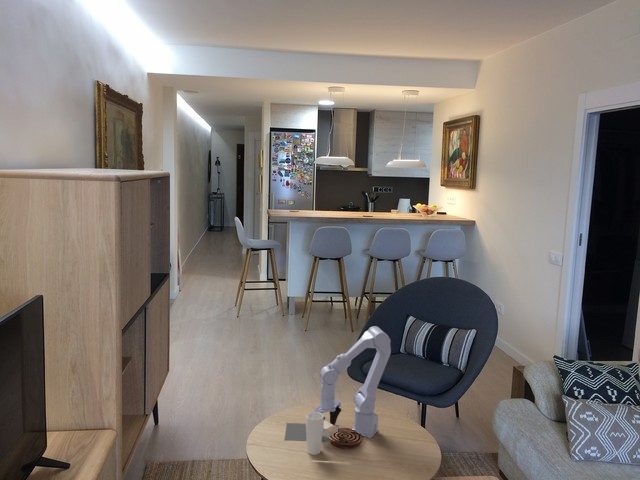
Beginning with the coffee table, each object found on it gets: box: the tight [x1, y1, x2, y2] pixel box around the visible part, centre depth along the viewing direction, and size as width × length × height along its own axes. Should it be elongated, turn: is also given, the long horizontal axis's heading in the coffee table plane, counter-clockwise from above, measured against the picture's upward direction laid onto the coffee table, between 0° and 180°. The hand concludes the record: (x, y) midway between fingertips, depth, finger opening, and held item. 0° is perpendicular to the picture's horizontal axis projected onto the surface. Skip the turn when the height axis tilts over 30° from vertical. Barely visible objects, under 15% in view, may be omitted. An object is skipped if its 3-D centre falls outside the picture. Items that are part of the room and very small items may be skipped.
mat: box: [284, 422, 340, 443], centre depth 218 cm, size 22×14×1 cm, turn 90°
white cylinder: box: [305, 411, 325, 456], centre depth 203 cm, size 7×7×15 cm
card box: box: [322, 419, 338, 438], centre depth 218 cm, size 8×5×3 cm, turn 45°
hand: (326, 427), depth 218 cm, fingers open, 7 cm apart
